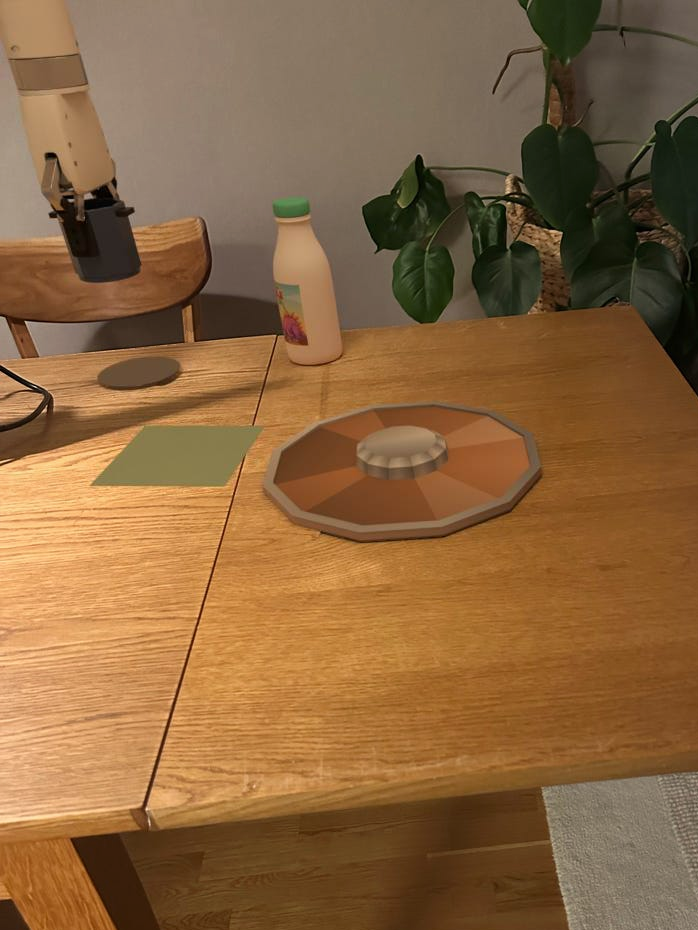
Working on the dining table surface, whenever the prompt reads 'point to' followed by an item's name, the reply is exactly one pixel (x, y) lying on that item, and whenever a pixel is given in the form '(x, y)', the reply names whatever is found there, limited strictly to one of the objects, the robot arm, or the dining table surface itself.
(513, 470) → the shield
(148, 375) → the disc
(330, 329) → the milk bottle
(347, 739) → the dining table surface
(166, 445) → the cloth
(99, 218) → the pot
